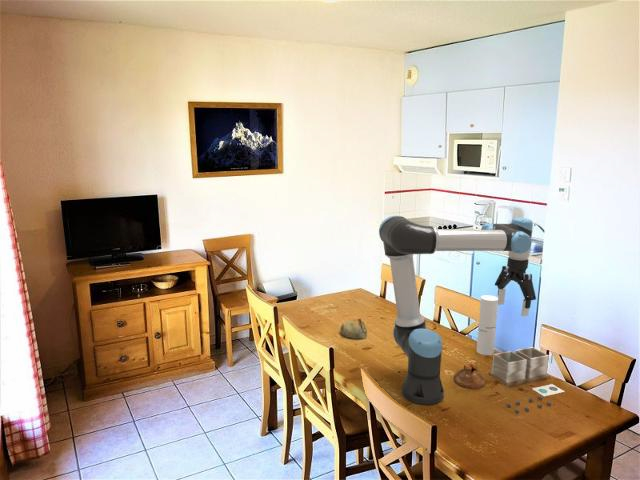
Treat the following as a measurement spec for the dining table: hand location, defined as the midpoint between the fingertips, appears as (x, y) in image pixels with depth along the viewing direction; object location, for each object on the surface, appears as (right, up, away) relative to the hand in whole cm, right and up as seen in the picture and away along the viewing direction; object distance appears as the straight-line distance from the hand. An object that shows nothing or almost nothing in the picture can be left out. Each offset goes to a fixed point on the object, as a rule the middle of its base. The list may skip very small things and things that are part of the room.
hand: (512, 309), depth 200 cm
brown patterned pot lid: (-18, -28, -4) cm, 34 cm away
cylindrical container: (-3, -22, +22) cm, 31 cm away
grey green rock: (-60, -18, +40) cm, 74 cm away
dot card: (+10, -29, -10) cm, 32 cm away
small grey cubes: (-2, -31, -21) cm, 38 cm away
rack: (+3, -26, +1) cm, 27 cm away
